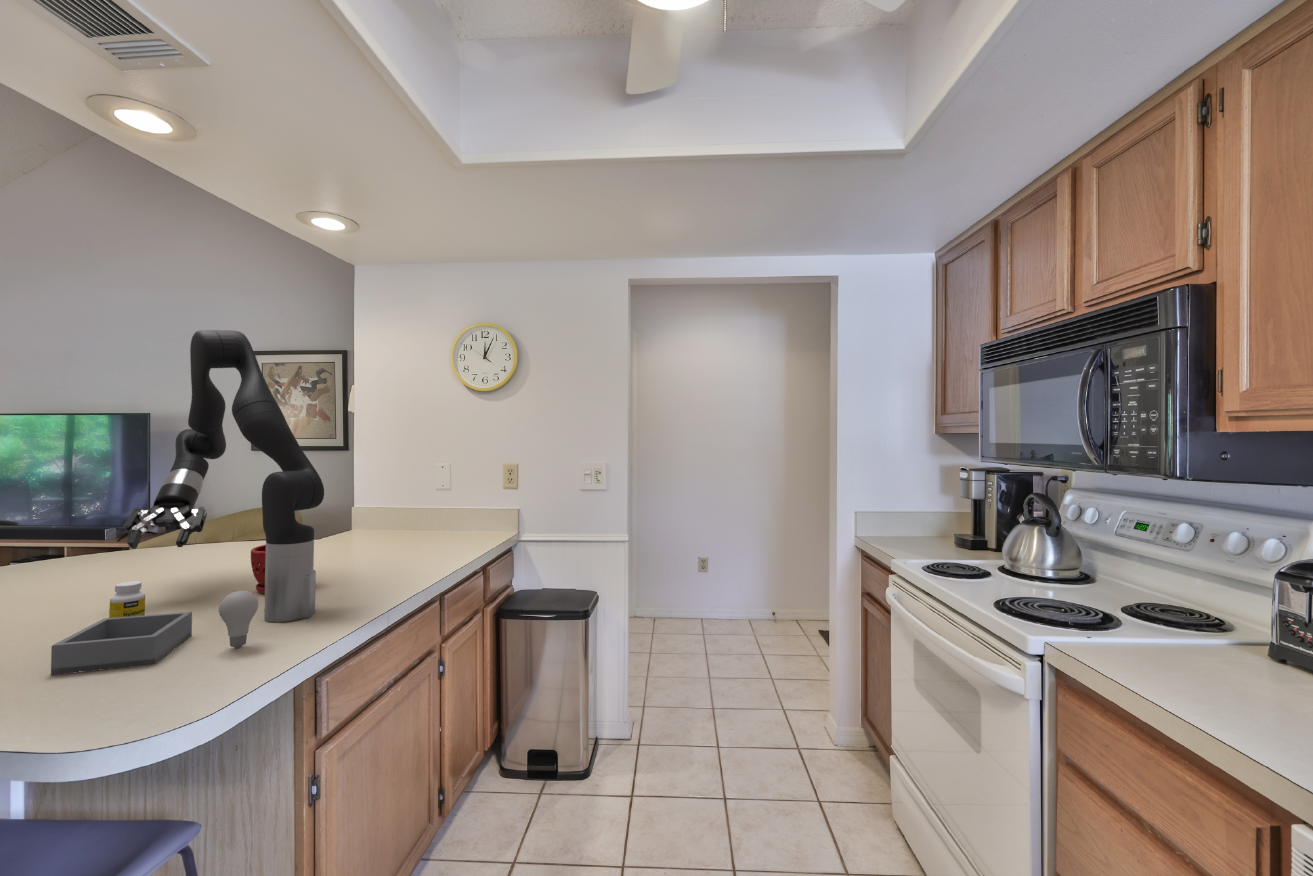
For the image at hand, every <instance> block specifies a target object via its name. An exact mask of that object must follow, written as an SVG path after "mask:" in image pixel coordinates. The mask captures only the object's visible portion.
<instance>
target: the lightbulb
mask: <svg viewBox="0 0 1313 876" xmlns="http://www.w3.org/2000/svg"><path fill="white" fill-rule="evenodd" d="M258 608H259V601H258V598H257V596H256V595H255V594H254V593H253V592H250V591H246V590H237V591H233V592H231V593H229V594H228V595H226V596H225V597H224V598H223V599H222V600H221V602H220V604H219V607H218V613H219V617H220V618H221V620H222V621H223V623H224V624H225V626H226V629H227V635H228V638H229V646H230V647H231V648H234V649H240V648H242V647H243V646H245V645H246V644H247V639H248V638H247V636H248V635H247V634H248V633H249V631H250V624H251V622H252V619H253V618H254V617H255V615H256V613H257V611H258Z"/></svg>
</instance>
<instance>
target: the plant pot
mask: <svg viewBox="0 0 1313 876" xmlns="http://www.w3.org/2000/svg"><path fill="white" fill-rule="evenodd" d="M265 560H266V544H262V545H258V546H256V547H253V548H251V549H250V565H251V566H250V567H251V569H252V574H253V576H254V579H255V580H256V582H257V584H256V585H255V590H256V591H257V592H259V593H262V594H265Z"/></svg>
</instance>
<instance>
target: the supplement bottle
mask: <svg viewBox="0 0 1313 876" xmlns="http://www.w3.org/2000/svg"><path fill="white" fill-rule="evenodd" d="M141 589H142V582H141V581H139V580H138V581H135V580H134V581H133V580H132V581H125V582H120V583H116V584H115V586H114V592H115V594H113V595H112V596H111V597H110V598H109V615H108V616H109V617H108V618H117V617H130V616H143V615H146V614H145V613H146V593H145V592H144V591H141Z"/></svg>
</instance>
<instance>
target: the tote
mask: <svg viewBox="0 0 1313 876" xmlns="http://www.w3.org/2000/svg"><path fill="white" fill-rule="evenodd" d="M192 628H193V611H184V612H172V613H171V612H170V613H160V614H157V613H156V614H145V615H143V616H130V617H117V618H109V617H108V618H107V617H106V618H102V619H100V620H98V621H96V622H94V623H93V624H91V625H88V626H87V627H85V628H82V629H81V630H78V631H77V632H75V633H73V634H71V635H69V636H68V637H65V638H64V639H62V640H60V641H58V642H56V643H54V644H52V645H51V654H50V655H51V656H50V657H51V658H50V659H51V660H50V661H51V662H50V675H51V676H56V675H57V676H58V675H66V674H67V675H68V674H75V673H74V672H77V673H80V672H79V671H86V672H93V671H92V670H96V671H100V670H99V669H106V670H110V669H109V668H115V669H123V667H124V668H132V666H135V667H142V666H143V667H144V666H151V665H152V666H153V664H154V665H156V664H157V663H159V662H160V661H161V660H162V658H165V657H166V656H168V655H169V654H170V653H172V652H173V651H174V650H175V649H174V648H176V647H177V646H178V647H180V646H181V645H182V644H183V643H185V642H186V641H187V640H189V639H190V638H191V637H192V634H193V632H192V631H193V629H192ZM188 638H189V639H188ZM184 641H185V642H184ZM180 644H181V645H180ZM178 647H177V648H178ZM177 648H176V649H177ZM172 650H173V651H172ZM171 651H172V652H171ZM169 652H170V653H169ZM167 654H168V655H167ZM159 660H160V661H159ZM158 661H159V662H158ZM130 666H131V667H130ZM65 673H66V674H65Z"/></svg>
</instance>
